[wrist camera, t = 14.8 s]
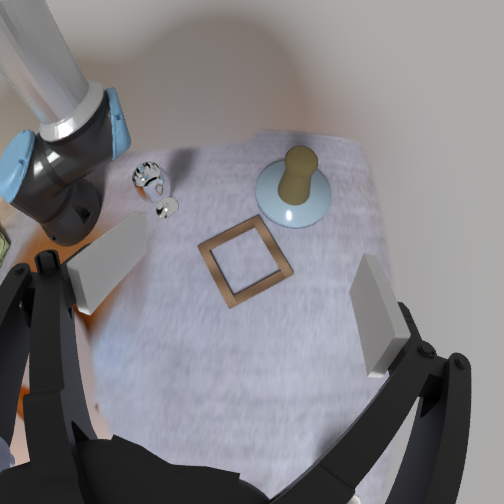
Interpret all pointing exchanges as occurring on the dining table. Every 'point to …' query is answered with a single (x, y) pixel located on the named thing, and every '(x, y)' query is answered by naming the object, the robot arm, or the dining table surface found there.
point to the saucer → (288, 213)
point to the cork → (297, 175)
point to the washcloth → (3, 247)
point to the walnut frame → (257, 287)
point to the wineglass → (154, 188)
